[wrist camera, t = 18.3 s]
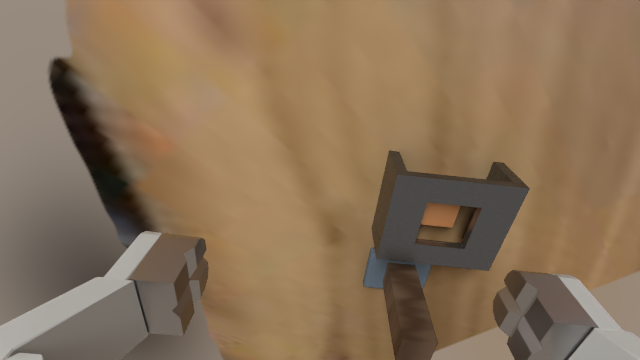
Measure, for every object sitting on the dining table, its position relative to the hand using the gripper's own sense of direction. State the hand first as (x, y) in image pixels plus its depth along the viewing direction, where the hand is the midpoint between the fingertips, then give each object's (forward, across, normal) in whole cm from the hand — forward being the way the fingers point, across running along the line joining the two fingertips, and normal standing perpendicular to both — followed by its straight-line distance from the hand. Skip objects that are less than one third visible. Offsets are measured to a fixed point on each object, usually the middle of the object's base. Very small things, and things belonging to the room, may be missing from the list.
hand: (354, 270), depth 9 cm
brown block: (+28, -12, +28) cm, 42 cm away
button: (+29, -14, +15) cm, 35 cm away
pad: (+29, -12, +28) cm, 42 cm away
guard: (+29, -14, +15) cm, 36 cm away
